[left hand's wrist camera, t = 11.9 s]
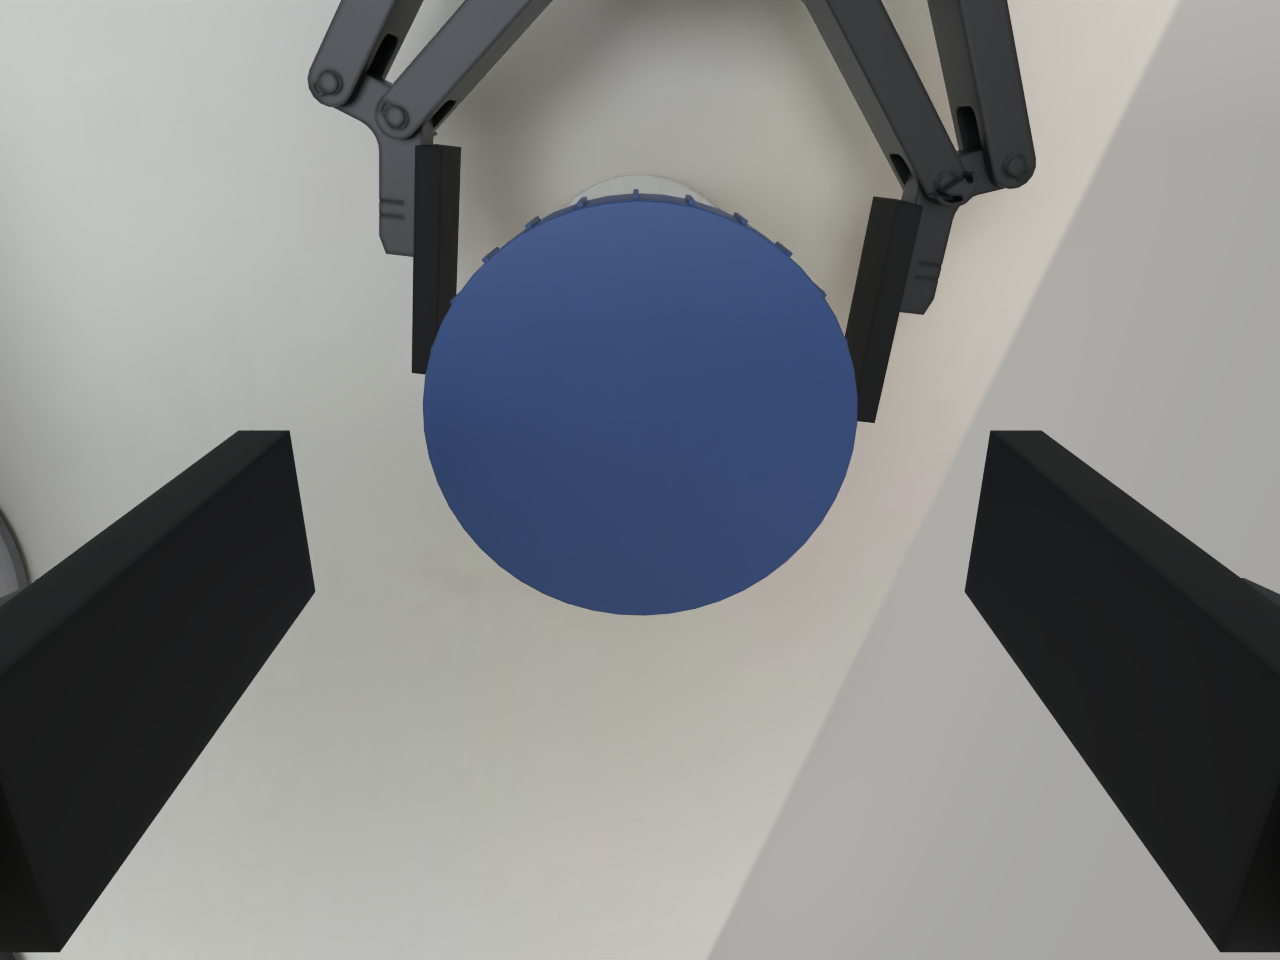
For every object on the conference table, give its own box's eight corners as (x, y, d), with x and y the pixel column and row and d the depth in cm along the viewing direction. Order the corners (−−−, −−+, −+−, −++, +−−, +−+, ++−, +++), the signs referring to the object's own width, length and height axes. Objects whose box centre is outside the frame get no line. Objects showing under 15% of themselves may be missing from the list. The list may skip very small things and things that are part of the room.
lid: (852, 184, 17) (879, 190, 15) (825, 571, 21) (844, 615, 19) (420, 193, 17) (393, 200, 15) (462, 577, 21) (444, 622, 19)
